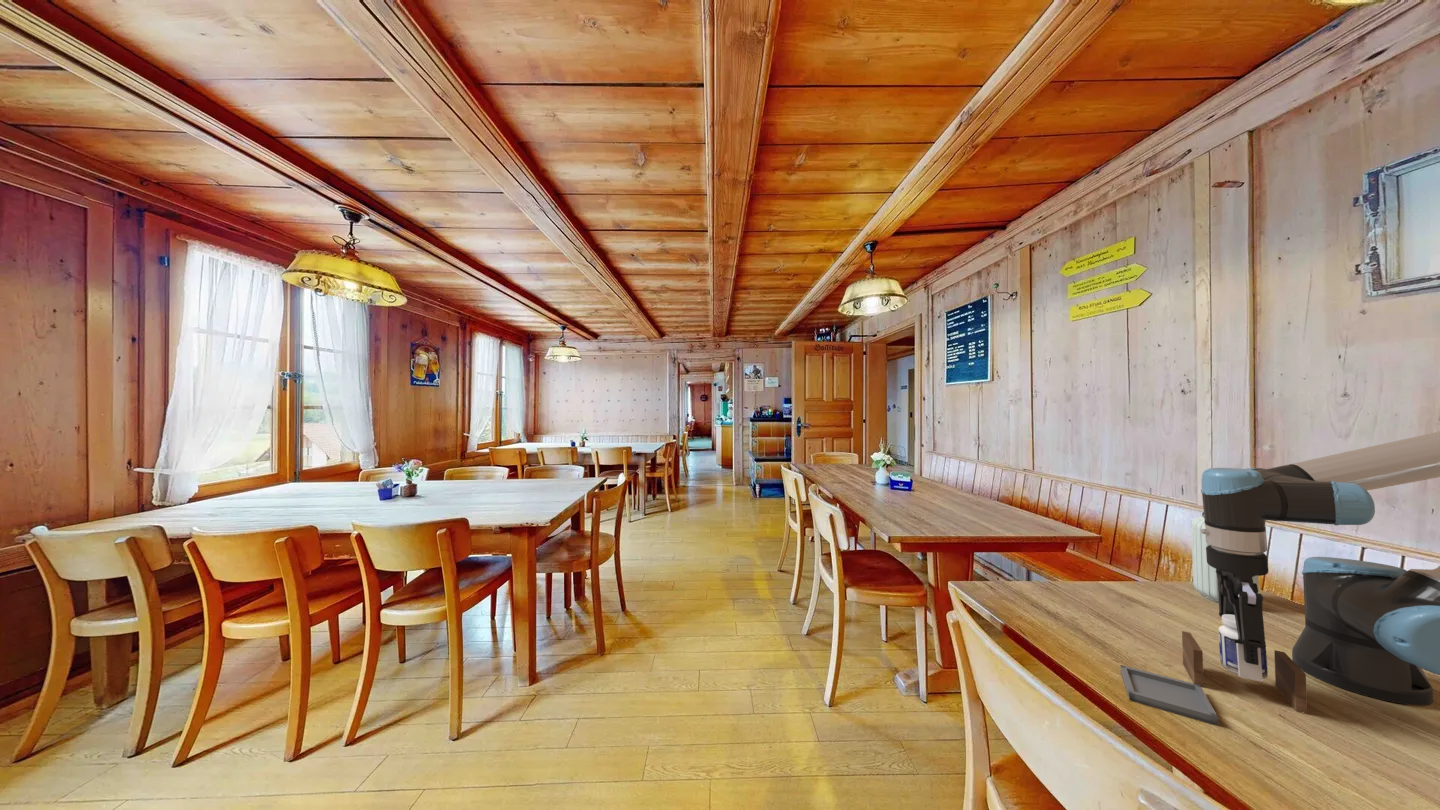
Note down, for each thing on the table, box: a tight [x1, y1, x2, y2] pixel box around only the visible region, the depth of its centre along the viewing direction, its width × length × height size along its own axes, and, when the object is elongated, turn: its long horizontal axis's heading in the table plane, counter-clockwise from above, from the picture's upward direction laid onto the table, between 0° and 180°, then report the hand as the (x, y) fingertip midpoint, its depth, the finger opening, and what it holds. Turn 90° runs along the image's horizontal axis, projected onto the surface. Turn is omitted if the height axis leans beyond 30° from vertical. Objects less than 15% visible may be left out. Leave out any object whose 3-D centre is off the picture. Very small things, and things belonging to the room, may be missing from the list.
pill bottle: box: [1217, 614, 1269, 680], centre depth 81 cm, size 6×6×10 cm
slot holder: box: [1181, 630, 1308, 714], centre depth 81 cm, size 13×8×7 cm, turn 53°
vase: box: [1190, 514, 1260, 603], centre depth 115 cm, size 12×12×22 cm
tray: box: [1120, 664, 1219, 727], centre depth 79 cm, size 11×10×2 cm
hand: (1243, 669), depth 81 cm, fingers closed on pill bottle, 6 cm apart
